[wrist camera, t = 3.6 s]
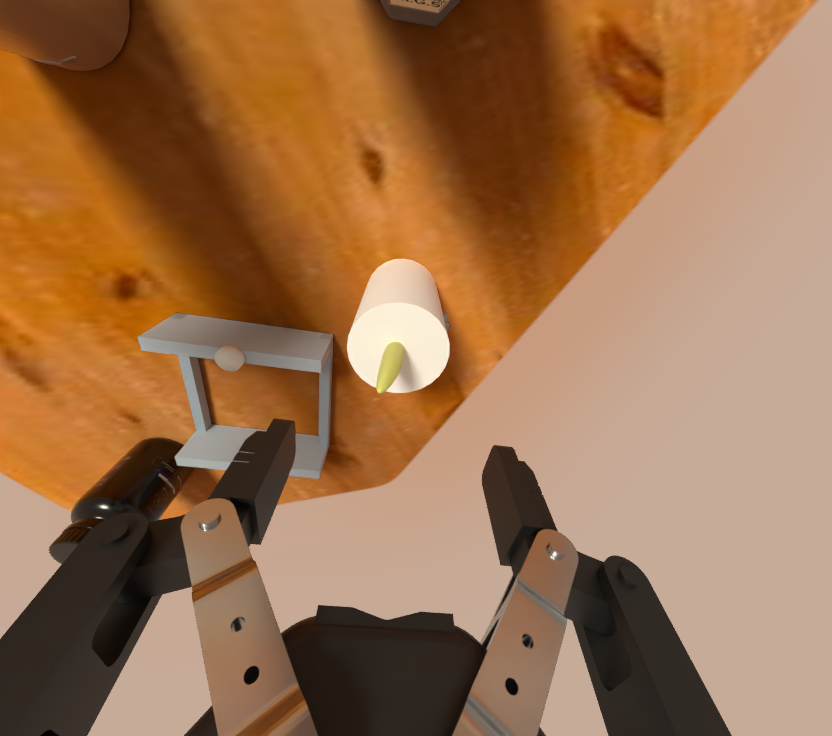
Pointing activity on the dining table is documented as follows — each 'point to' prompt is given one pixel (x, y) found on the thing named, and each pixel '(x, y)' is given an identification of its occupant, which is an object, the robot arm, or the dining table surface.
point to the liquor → (419, 10)
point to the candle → (399, 329)
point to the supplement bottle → (127, 491)
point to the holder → (230, 352)
